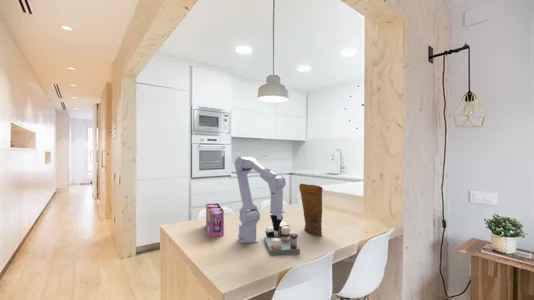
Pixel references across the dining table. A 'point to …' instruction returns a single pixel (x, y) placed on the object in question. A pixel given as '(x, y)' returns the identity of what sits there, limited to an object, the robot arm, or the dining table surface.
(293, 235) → the pot post
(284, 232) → the knob
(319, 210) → the pancake mix bag
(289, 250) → the mount board
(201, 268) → the dining table surface
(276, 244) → the knob
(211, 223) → the gum box
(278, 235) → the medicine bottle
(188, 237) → the dining table surface
